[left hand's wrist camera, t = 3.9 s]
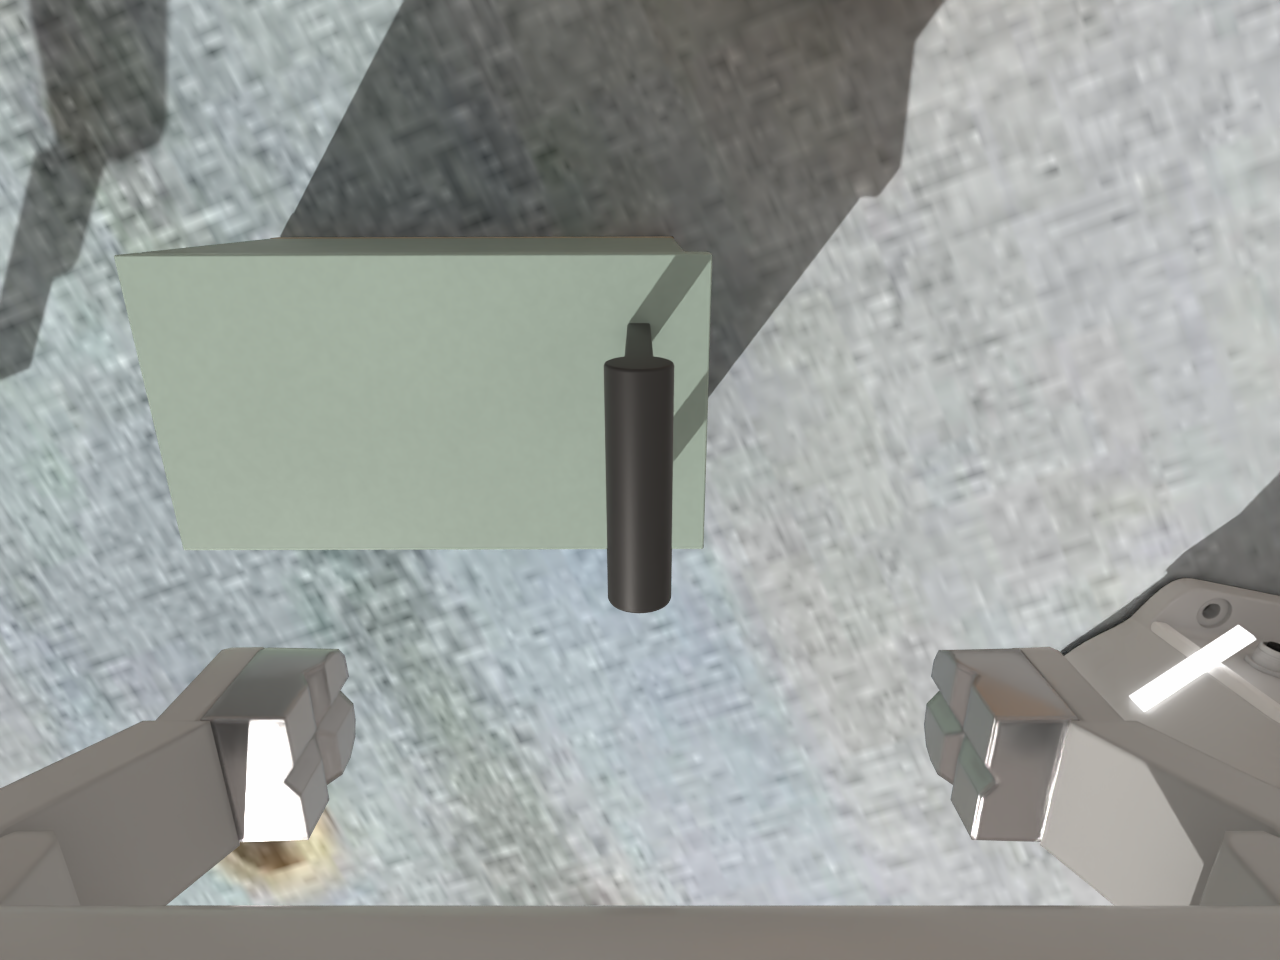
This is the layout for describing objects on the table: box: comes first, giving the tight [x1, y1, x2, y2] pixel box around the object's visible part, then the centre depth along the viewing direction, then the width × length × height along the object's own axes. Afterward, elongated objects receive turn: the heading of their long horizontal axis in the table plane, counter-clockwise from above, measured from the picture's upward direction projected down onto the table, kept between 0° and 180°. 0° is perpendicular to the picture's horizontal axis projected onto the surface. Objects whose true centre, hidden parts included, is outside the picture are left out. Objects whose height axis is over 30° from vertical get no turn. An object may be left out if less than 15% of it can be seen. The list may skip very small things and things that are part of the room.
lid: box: [114, 252, 712, 613], centre depth 21 cm, size 18×10×8 cm, turn 90°
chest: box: [142, 236, 684, 253], centre depth 29 cm, size 17×10×10 cm, turn 90°
